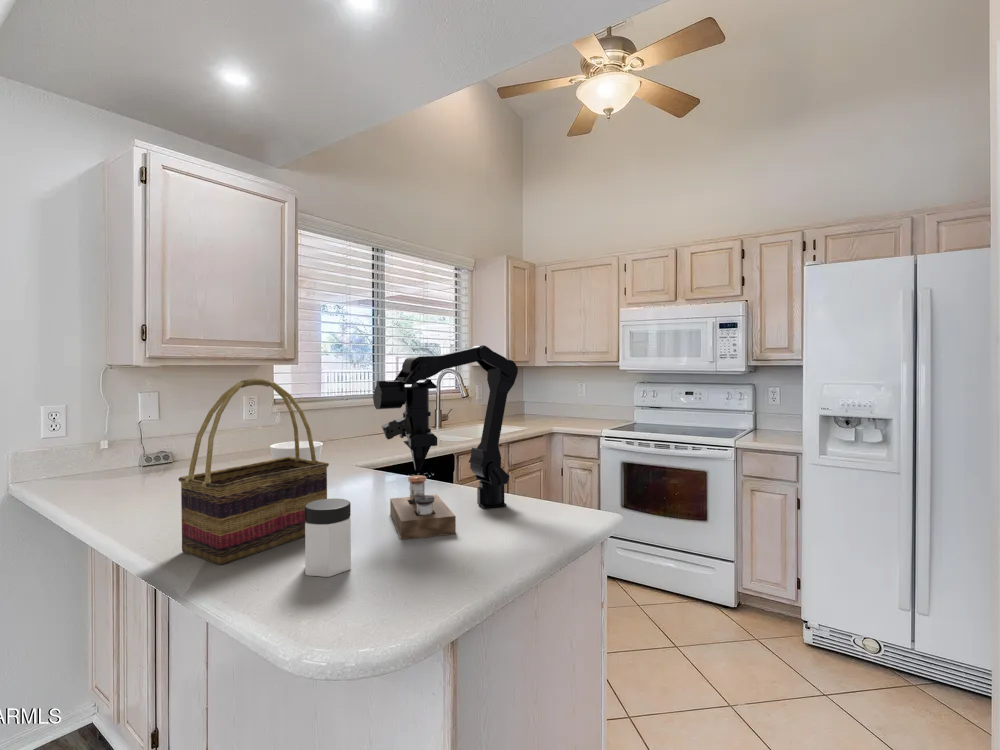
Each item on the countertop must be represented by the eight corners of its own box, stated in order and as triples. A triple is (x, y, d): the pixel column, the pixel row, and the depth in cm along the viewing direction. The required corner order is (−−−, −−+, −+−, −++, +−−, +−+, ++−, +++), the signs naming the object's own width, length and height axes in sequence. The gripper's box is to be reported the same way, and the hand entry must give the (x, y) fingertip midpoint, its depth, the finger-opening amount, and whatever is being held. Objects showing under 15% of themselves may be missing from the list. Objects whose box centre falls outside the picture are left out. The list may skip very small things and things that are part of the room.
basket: (218, 568, 94) (216, 380, 94) (176, 553, 102) (174, 379, 101) (331, 528, 117) (330, 377, 117) (290, 519, 125) (289, 376, 124)
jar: (337, 555, 100) (337, 495, 100) (361, 566, 95) (361, 502, 95) (294, 569, 93) (293, 505, 93) (317, 581, 88) (317, 513, 88)
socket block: (437, 509, 132) (437, 494, 132) (455, 533, 113) (455, 516, 113) (390, 514, 128) (390, 498, 128) (401, 539, 109) (401, 521, 109)
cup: (258, 505, 137) (258, 446, 137) (296, 493, 150) (296, 439, 149) (297, 510, 132) (297, 449, 132) (333, 497, 145) (333, 442, 144)
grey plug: (432, 523, 119) (432, 494, 119) (436, 529, 115) (436, 499, 115) (413, 525, 117) (413, 496, 117) (416, 531, 113) (416, 500, 113)
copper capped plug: (424, 501, 128) (424, 474, 128) (427, 506, 124) (427, 478, 124) (407, 503, 127) (406, 476, 127) (409, 507, 123) (409, 479, 123)
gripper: (379, 405, 131) (380, 465, 131) (388, 411, 113) (389, 481, 114) (422, 404, 135) (422, 462, 135) (437, 410, 117) (438, 477, 117)
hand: (417, 470), depth 125 cm, fingers closed
